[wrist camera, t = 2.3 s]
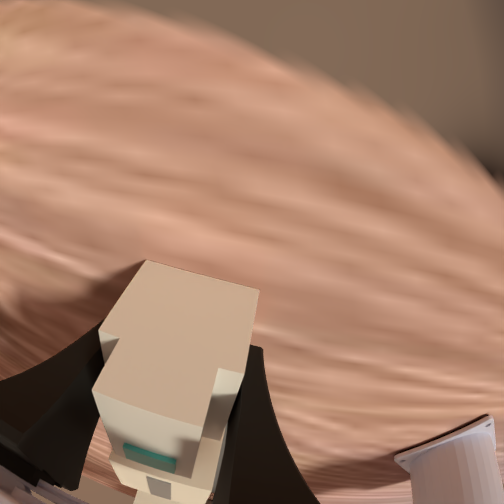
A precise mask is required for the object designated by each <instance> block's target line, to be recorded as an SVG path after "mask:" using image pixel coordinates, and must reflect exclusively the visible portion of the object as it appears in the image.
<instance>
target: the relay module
mask: <svg viewBox="0 0 504 504" xmlns="http://www.w3.org/2000/svg"><path fill="white" fill-rule="evenodd" d="M259 291H260V290H259V289H255V288H251V287H247V286H243V285H239V284H235V283H231V282H227V281H223V280H220V279H216V278H212V277H208V276H204V275H201V274H197V273H193V272H189V271H186V270H182V269H178V268H175V267H171V266H167V265H164V264H160V263H157V262H153V261H149V260H146V261H145V262H144V264H143V265H142V266H141V268H140V269H139V271H138V272H137V273H136V275H135V276H134V278H133V279H132V281H131V282H130V283H129V285H128V286H127V288H126V289H125V291H124V292H123V294H122V295H121V297H120V298H119V299H118V301H117V302H116V304H115V305H114V307H113V308H112V310H111V311H110V313H109V314H108V316H107V317H106V319H105V320H104V322H103V324H102V325H101V327H100V328H99V330H98V331H99V337H100V343H101V348H102V354H103V359H104V364H105V366H104V368H103V369H102V371H101V373H100V375H99V377H98V379H97V381H96V382H95V384H94V386H93V388H92V393H93V396H94V399H95V402H96V405H97V408H98V411H99V413H100V416H101V419H102V422H103V424H104V427H105V430H106V432H107V435H108V437H109V440H110V442H111V445H112V447H113V450H114V452H115V454H116V455H118V456H121V457H124V458H126V459H129V460H132V461H134V462H137V463H140V464H143V465H146V466H149V467H152V468H155V469H158V470H162V471H165V472H168V473H172V474H175V475H179V476H182V477H186V478H190V479H191V477H192V473H193V469H194V465H195V461H196V457H197V454H198V450H199V446H200V442H201V438H202V437H205V438H209V439H214V440H218V441H220V440H221V437H222V434H223V432H224V429H225V426H226V424H227V421H228V418H229V415H230V413H231V410H232V407H233V404H234V402H235V399H236V396H237V393H238V391H239V388H240V385H241V382H242V379H243V377H244V373H245V368H246V363H247V357H248V352H249V346H250V341H251V335H252V330H253V324H254V319H255V313H256V308H257V302H258V296H259Z"/></svg>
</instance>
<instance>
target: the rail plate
mask: <svg viewBox="0 0 504 504" xmlns="http://www.w3.org/2000/svg"><path fill="white" fill-rule="evenodd" d="M227 424H228V421H227ZM227 424H226V426H225V429H224V432H223V434H222V437H221V440H220V441H218V440H214V439H209V438H205V437H202V438H201V442H200V446H199V450H198V454H197V457H196V461H195V465H194V469H193V473H192V477H191V479H190V478H186V477H182V476H179V475H175V474H172V473H168V472H165V471H162V470H158V469H155V468H152V467H149V466H146V465H143V464H140V463H137V462H134V461H132V460H129V459H126V458H124V457H121V456H118V455H116V454H115V452H114V450H113V449H112V452H111V454H110V457H109V461H110V463H111V465H112V467H113V469H114V471H115V473H116V475H117V476H118V478H119V480H120V482H121V484H123V485H126V486H129V487H131V488H134V489H137V494H136V497H135V500H134V503H133V504H205V503H206V501H207V499H208V497H209V495H210V493H215V489H216V485H217V480H218V476H219V472H220V467H221V463H222V458H223V454H224V448H225V441H226V433H227Z"/></svg>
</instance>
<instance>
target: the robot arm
mask: <svg viewBox="0 0 504 504" xmlns="http://www.w3.org/2000/svg"><path fill="white" fill-rule="evenodd" d="M105 319H106V318H105ZM105 319H104V320H105ZM104 320H102V321H101V322H100V323H99V324H97V325H96V326H95V327H94V328H92V329H91V330H90V331H89V332H87V333H86V334H85V335H83V336H82V337H81V338H79V339H78V340H77V341H75V342H74V343H72V344H71V345H70V346H68V347H67V348H65V349H64V350H62V351H61V352H59V353H58V354H56V355H55V356H53V357H51V358H50V359H48V360H46V361H44V362H43V363H41V364H39V365H37V366H35V367H33V368H31V369H29V370H27V371H25V372H22V373H20V374H17V375H15V376H12V377H10V378H7V379H5V380H2V381H0V504H46V503H44V502H42V501H40V500H39V499H37V498H36V497H34V496H32V494H31V491H30V489H31V490H32V491H34V492H36V493H37V494H39V495H41V496H43V497H44V498H46V499H48V500H50V501H52V502H54V503H55V504H89V503H86V502H84V501H82V500H80V499H78V498H75V497H73V496H71V495H69V494H67V493H65V492H63V491H61V490H60V489H57V488H56V487H54V485H56V486H58V487H60V488H61V487H64V488H65V489H68V490H70V491H73V490H76V489H78V486H79V482H80V478H81V473H82V469H83V465H84V462H85V458H86V455H87V451H88V448H89V445H90V442H91V439H92V436H93V433H94V430H95V428H96V425H97V422H98V420H99V417H100V413H99V411H98V408H97V405H96V402H95V399H94V396H93V393H92V388H93V386H94V384H95V382H96V381H97V379H98V377H99V375H100V373H101V371H102V369H103V368H104V366H105V364H104V359H103V354H102V348H101V343H100V337H99V331H98V330H99V328H100V327H101V325H102V324H103V322H104ZM495 450H496V442H495V429H494V419H493V416H492V415H489V416H486V417H484V418H482V419H480V420H478V421H476V422H474V423H472V424H470V425H468V426H466V427H464V428H462V429H460V430H458V431H455V432H453V433H451V434H449V435H446V436H444V437H441V438H439V439H437V440H434V441H432V442H429V443H427V444H424V445H421V446H419V447H416V448H413V449H411V450H408V451H405V452H402V453H399V454H397V455H395V456H394V461H395V462H396V463H397V464H398V465H400V466H401V467H402V468H403V469H404V470H406V471H407V472H408V473H409V474H410V478H411V487H412V498H413V504H504V490H503V485H502V480H501V475H500V471H499V466H498V462H497V458H496V454H495ZM212 504H320V503H319V501H318V500H317V498H316V497H315V496H314V494H313V493H312V491H311V490H310V488H309V487H308V485H307V483H306V482H305V480H304V478H303V477H302V475H301V473H300V472H299V470H298V468H297V466H296V464H295V462H294V460H293V458H292V456H291V454H290V452H289V450H288V448H287V445H286V443H285V441H284V438H283V436H282V433H281V431H280V428H279V425H278V422H277V419H276V416H275V413H274V410H273V406H272V402H271V399H270V394H269V390H268V386H267V380H266V375H265V368H264V358H263V349H262V348H261V347H258V346H253V345H250V346H249V352H248V357H247V363H246V368H245V373H244V377H243V379H242V382H241V385H240V388H239V391H238V393H237V396H236V399H235V402H234V404H233V407H232V410H231V413H230V415H229V418H228V424H227V433H226V441H225V448H224V454H223V458H222V463H221V467H220V472H219V476H218V480H217V485H216V489H215V493H214V497H213V501H212Z"/></svg>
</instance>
